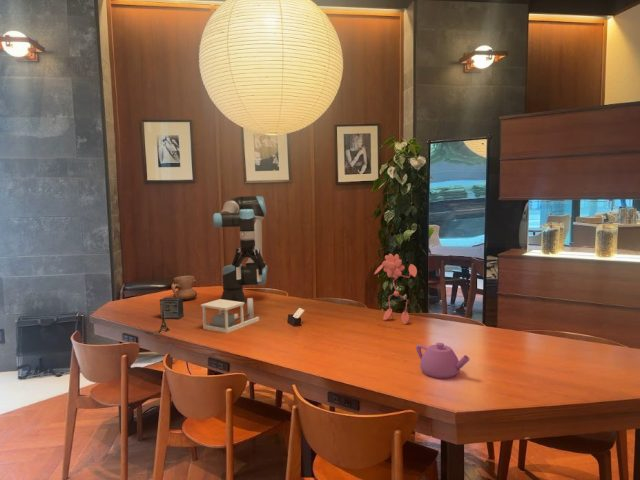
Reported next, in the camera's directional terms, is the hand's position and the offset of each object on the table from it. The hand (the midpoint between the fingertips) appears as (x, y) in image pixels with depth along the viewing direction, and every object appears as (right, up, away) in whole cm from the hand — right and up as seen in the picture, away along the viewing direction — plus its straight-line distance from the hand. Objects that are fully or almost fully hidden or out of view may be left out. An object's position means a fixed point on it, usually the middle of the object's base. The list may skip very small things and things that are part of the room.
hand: (248, 280), depth 239 cm
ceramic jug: (-48, -17, +52) cm, 73 cm away
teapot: (+80, -27, -73) cm, 112 cm away
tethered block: (-5, -21, -8) cm, 23 cm away
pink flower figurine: (+73, -21, -10) cm, 76 cm away
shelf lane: (-7, -22, -10) cm, 25 cm away
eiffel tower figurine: (-39, -24, -17) cm, 49 cm away
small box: (-43, -21, +10) cm, 48 cm away
